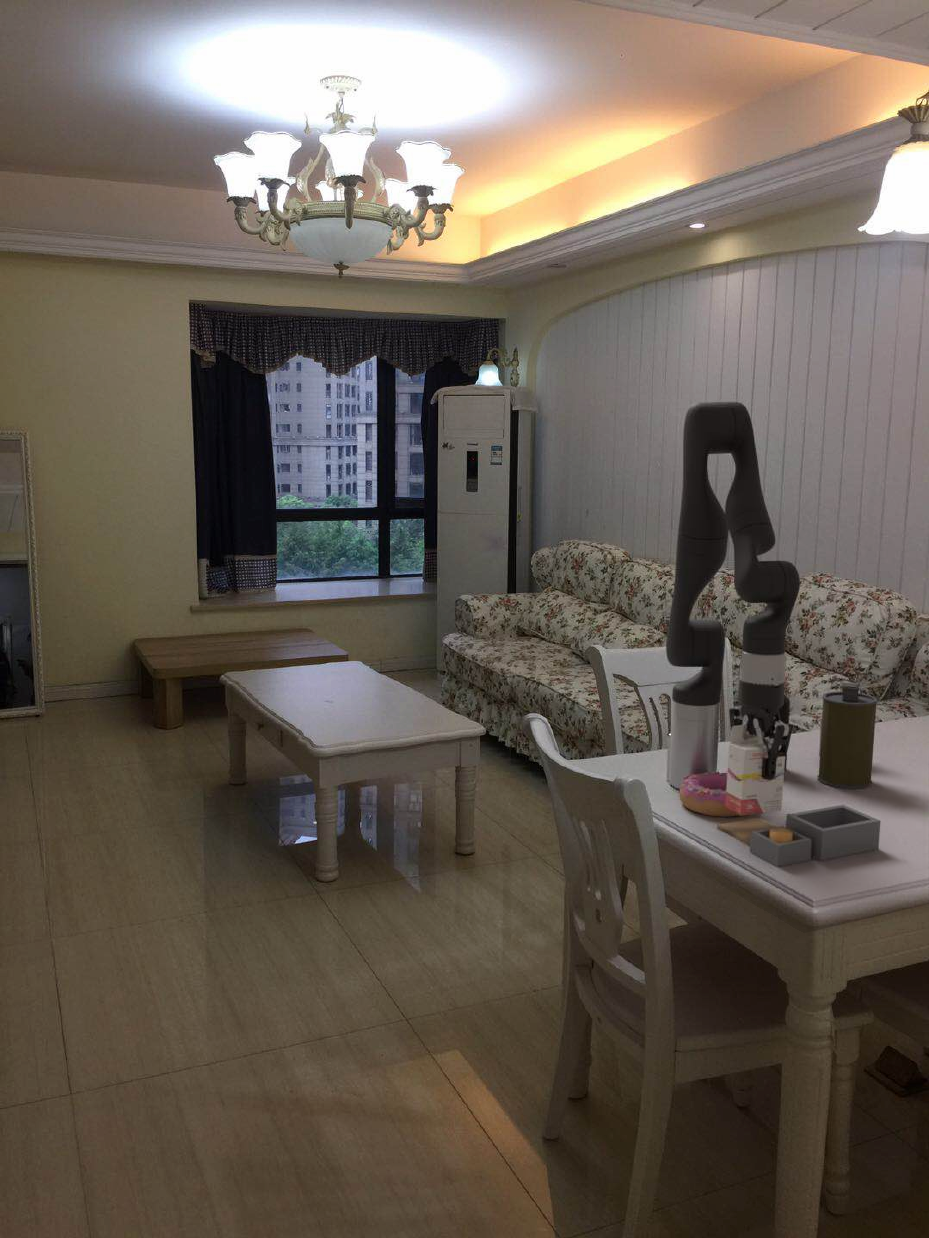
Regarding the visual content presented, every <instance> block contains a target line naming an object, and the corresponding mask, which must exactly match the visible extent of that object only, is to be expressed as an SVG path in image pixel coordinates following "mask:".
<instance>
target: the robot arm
mask: <svg viewBox="0 0 929 1238" xmlns="http://www.w3.org/2000/svg"><path fill="white" fill-rule="evenodd" d="M756 447H757V446H756V439H755V431H754V428H753V423H752V418H751V415H750V413H749V410H748V408H747V407H746V405H744V404H743V403H742V402H738V401H704V402H703V401H702V402H695V403H693V404H690V406H689V407H688V409H687V411H686V414H685V418H684V423H683V436H682V457H683V458H682V492H681V503H680V513H679V520H678V521H679V522H678V529H677V537H676V538H677V539H676V554H675V574H674V575H675V576H674V587H673V595H672V600H671V606H670V607H671V608H670V612H669V613H670V614H669V620H668V626H667V633H666V640H665V641H666V643H665V650H666V651H665V652H666V659H667V661H668V663H669V665H670V666H673V667H677V668H701V669H700V671H699V672H698V673H696V674H695V675H693V676H692V677H690V678H687V679H684V680H682V681H679V682H677V683H675V684H674V686H673V688H672V693H671V717H670V718H671V720H670V721H671V722H670V723H671V724H670V733H669V734H668V735H667V736H668V737H667V753H666V754H667V758H666V780H667V779H668V780H667V781H668V783H669V785H670V786H671V785H672V786H671V787H673V786H674V787H673V788H676V789H678V790H680V786H681V784H682V782H683V779H684V778H685V777H686V776H688V775H690V776H691V775H692V774H695V773H701V774H702V773H705V772H709V773H712V772H718V771H717V769H718V757H719V756H718V755H719V753H718V750H719V734H720V733H719V732H720V731H719V730H720V712H721V711H720V710H721V709H720V708H721V707H720V706H721V693H722V681H723V671H724V661H725V660H724V659H725V649H726V633H725V629H724V626H723V624H722V623H721V622H720V621H719V620H716V619H690V618H691V614H692V611H693V608H694V606H695V603H696V601H697V600H698V598H699V597H700V595H701V593H703V591H704V589H705V588H706V587H707V586H708V584H709V583H710V582H711V581H712V580H713V578H714V577H715V576H716V575H717V573H718V572H719V570H721V568H722V566H723V565H724V563H725V560H726V557H727V550H728V544H729V543H728V541H729V535H730V538H731V543H732V544H733V560H734V565H733V566H734V570H733V571H734V572H733V586H734V590H735V592H736V594H737V596H738V597H739V598H740V599H741V600H742V601H744V602H745V603H748V604H766V606H765V608H764V610H763V611H762V612H761V613H758V614H756V615H753V616H750V617H748V618H746V619H745V620H744V622H743V626H742V649H741V656H740V663H739V674H738V692H737V693H738V695H737V696H738V697H737V700H738V704H740V705H741V707H733V708H729V710H728V714H729V715H728V716H729V725H730V731H731V730H732V727H733V726H740V725H744V728H743V736H742V737H743V738H744V741H745V740H747V739H748V738H754V737H756V736H757V738H758V743H759V745H761V746H762V751H763V756H764V758H763V759H762V778H763V779H765V780H768V779H773V778H774V776H775V774H776V760H777V758H778V757H784V756H786V755H787V756H788V749H789V745H790V741H791V737H792V733H793V728H794V726H793V724H791V723H789V724H784V723H783V722H781V721H780V716H779V709H780V708H781V707H782V706H783V704H784V694H785V690H784V689H785V676H786V671H787V670H786V669H787V668H786V667H787V664H786V641H787V629H788V625H789V623H790V620H791V616H792V613H793V611H794V608H795V605H796V602H797V599H798V595H799V591H800V585H801V580H800V575H799V571H798V569H797V568H796V566H795V565H794V564H793V563H792V562H790V561H788V560H759V558H758V556H761V555H763V554H766V553H768V552H769V551H771V550H772V549H773V548H774V547H775V544H776V535H775V530H774V528H773V524H772V522H771V519H770V514H769V513H768V509H767V504H766V502H765V498H764V495H763V489H762V484H761V477H760V470H759V460H758V453H757V448H756ZM718 454H719V455H720V454H731V456H732V458H733V462H734V466H735V470H734V471H735V473H734V476H733V480H732V483H731V484H730V485H731V486H730V488H729V490H728V494H727V496H726V501H725V506H724V509H723V507H722V505H721V502H720V501H719V500H718V498H717V496H716V494H715V492H714V490H713V487H712V485H711V483H710V479H709V474H708V473H709V470H708V458H709V455H718ZM770 736H771V739H768V740H767V739H765V737H770ZM768 744H770V745H771V748H772V749H771V751H769V747H768ZM780 746H781V748H780V750H779V747H780Z"/></svg>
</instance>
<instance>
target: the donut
mask: <svg viewBox="0 0 929 1238" xmlns="http://www.w3.org/2000/svg"><path fill="white" fill-rule="evenodd" d="M726 789H727V772H720V771H717V772H712V773H709V772H705V773H702V774H701V773H695V774H692V775H691V776H690V775H688V776H686V777H685V778H684V779H683V782H682V784H681V786H680V789H679V797H680V802H681V803H682V805H683V806H684V807H686V808H687V809H689V810H690V811H693V812H695V813H697V812H698V813H697V814H700V815H706V816H711V817H721V818H722V817H723V818H725V817H726V818H728V817H729V818H731V817H739V816H741V815H739V814H738V813H736V812H734V811H732V810H730V809H729V808H727V807H726Z"/></svg>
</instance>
